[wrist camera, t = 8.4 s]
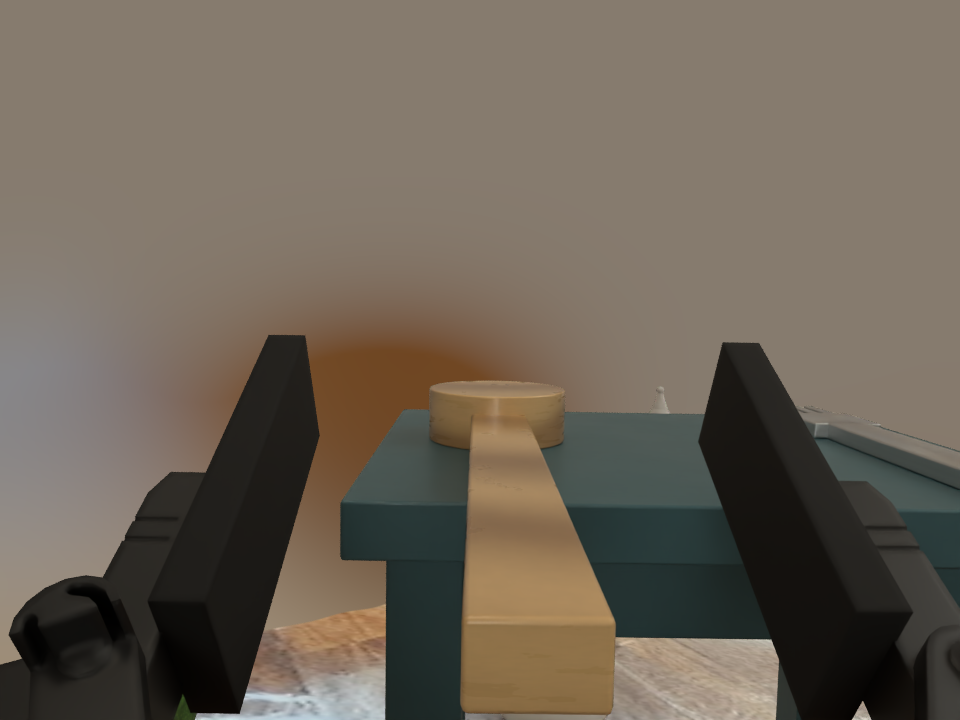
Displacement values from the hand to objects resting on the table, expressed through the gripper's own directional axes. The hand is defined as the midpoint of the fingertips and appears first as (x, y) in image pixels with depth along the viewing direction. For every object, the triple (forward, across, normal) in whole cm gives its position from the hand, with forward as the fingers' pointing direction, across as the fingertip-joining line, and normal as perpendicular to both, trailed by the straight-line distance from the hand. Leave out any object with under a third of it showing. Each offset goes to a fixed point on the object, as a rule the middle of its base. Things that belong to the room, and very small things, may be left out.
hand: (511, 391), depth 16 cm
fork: (+6, +13, -7) cm, 16 cm away
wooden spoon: (+1, 0, -4) cm, 4 cm away
